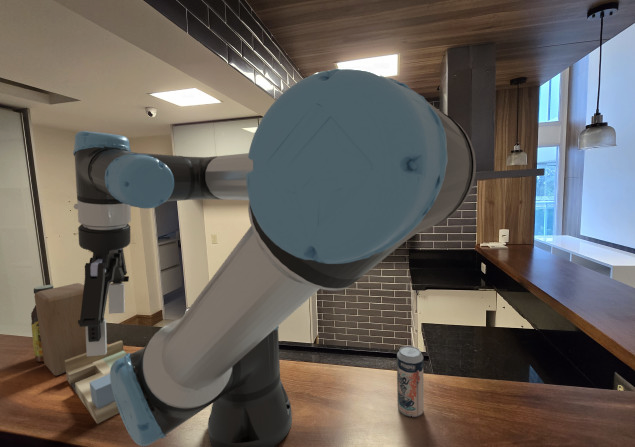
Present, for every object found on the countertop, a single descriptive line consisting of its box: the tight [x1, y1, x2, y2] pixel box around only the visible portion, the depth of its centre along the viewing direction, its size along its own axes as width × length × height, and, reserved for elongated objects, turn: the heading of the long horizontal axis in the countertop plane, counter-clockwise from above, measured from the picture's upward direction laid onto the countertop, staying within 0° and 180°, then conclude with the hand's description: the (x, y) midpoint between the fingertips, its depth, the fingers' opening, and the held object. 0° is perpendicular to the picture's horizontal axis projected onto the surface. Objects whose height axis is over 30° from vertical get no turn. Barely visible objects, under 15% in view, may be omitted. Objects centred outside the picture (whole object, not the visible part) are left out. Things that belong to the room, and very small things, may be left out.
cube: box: [89, 374, 115, 409], centre depth 62 cm, size 4×4×4 cm
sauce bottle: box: [30, 284, 54, 363], centre depth 84 cm, size 6×6×20 cm
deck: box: [64, 340, 128, 425], centre depth 71 cm, size 23×12×5 cm, turn 50°
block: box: [33, 282, 87, 376], centre depth 81 cm, size 10×10×20 cm
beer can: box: [396, 345, 424, 418], centre depth 59 cm, size 5×5×12 cm
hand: (108, 331), depth 59 cm, fingers open, 13 cm apart
